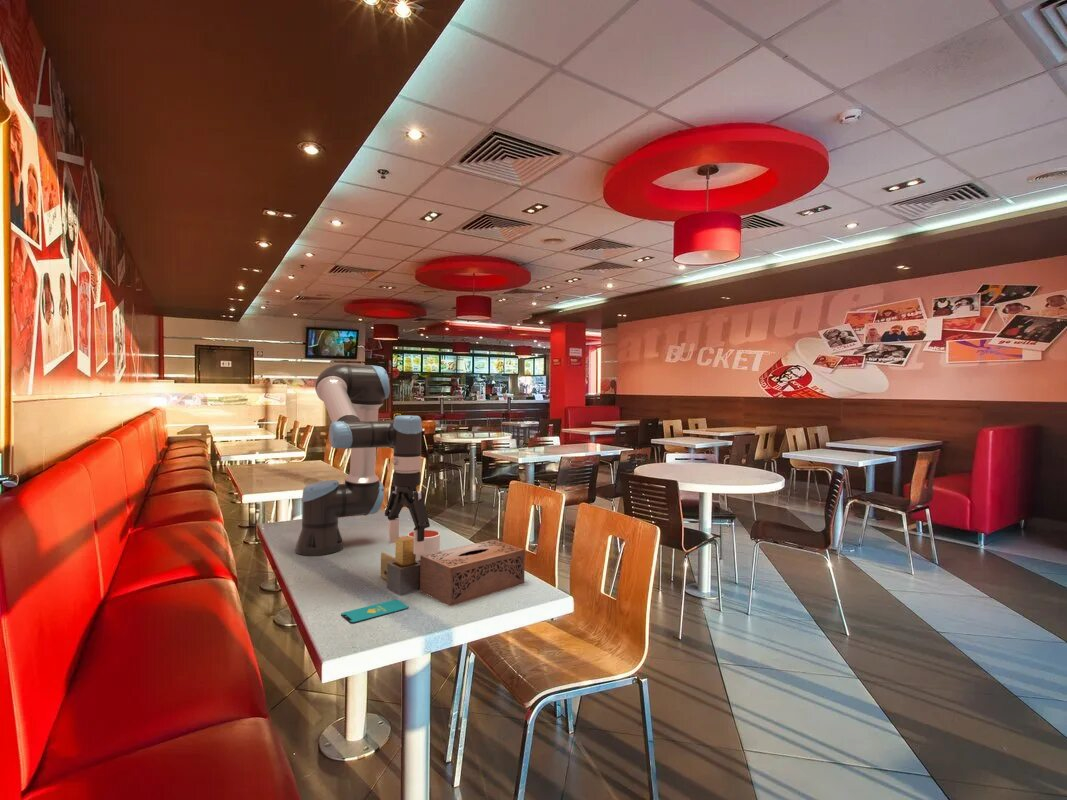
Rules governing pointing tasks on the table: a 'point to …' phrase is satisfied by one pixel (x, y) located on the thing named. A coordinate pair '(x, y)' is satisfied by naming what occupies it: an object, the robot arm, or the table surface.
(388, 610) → the smartphone
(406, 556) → the pin
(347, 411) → the robot arm
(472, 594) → the tissue box cover
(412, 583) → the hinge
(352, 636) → the table surface
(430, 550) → the cup
